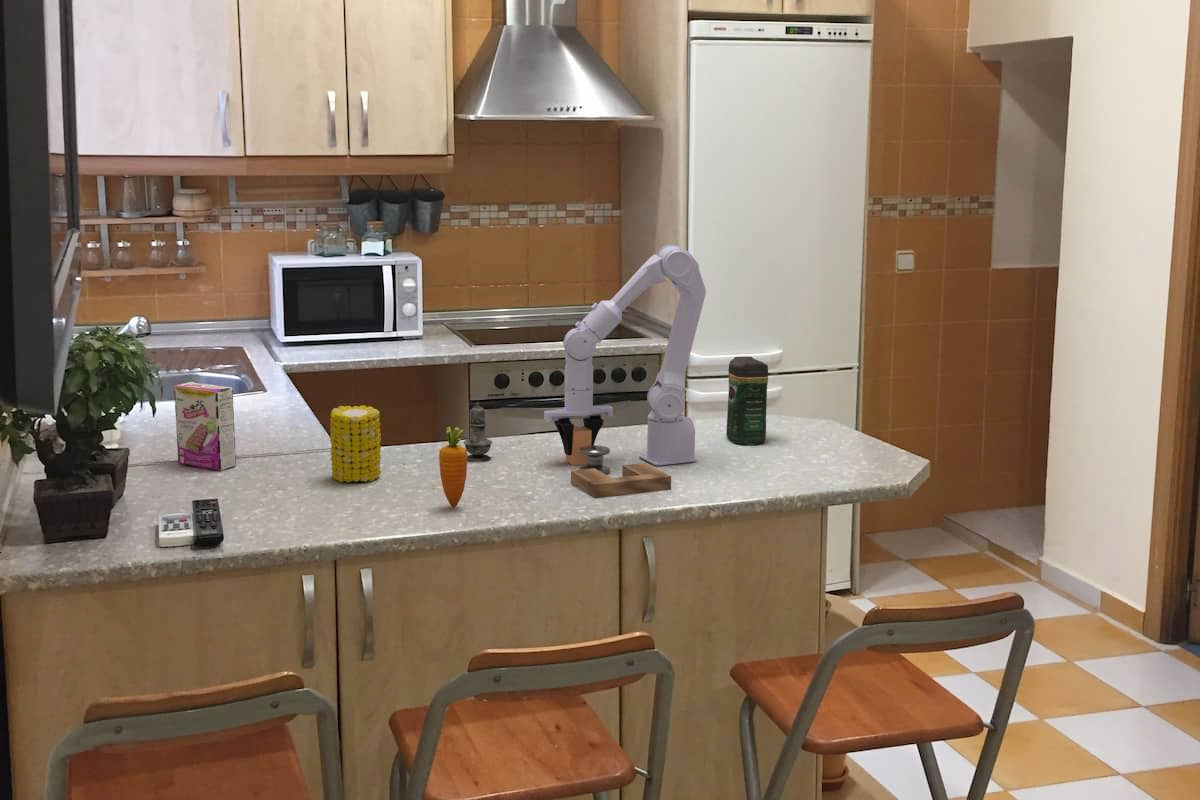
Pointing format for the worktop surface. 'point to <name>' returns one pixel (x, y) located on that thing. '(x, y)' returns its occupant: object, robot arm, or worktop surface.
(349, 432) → the food
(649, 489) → the notched board
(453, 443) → the carrot
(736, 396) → the coffee jar
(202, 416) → the candy bar box
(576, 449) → the brown block
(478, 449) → the salt shaker
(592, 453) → the doorknob
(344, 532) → the worktop surface
